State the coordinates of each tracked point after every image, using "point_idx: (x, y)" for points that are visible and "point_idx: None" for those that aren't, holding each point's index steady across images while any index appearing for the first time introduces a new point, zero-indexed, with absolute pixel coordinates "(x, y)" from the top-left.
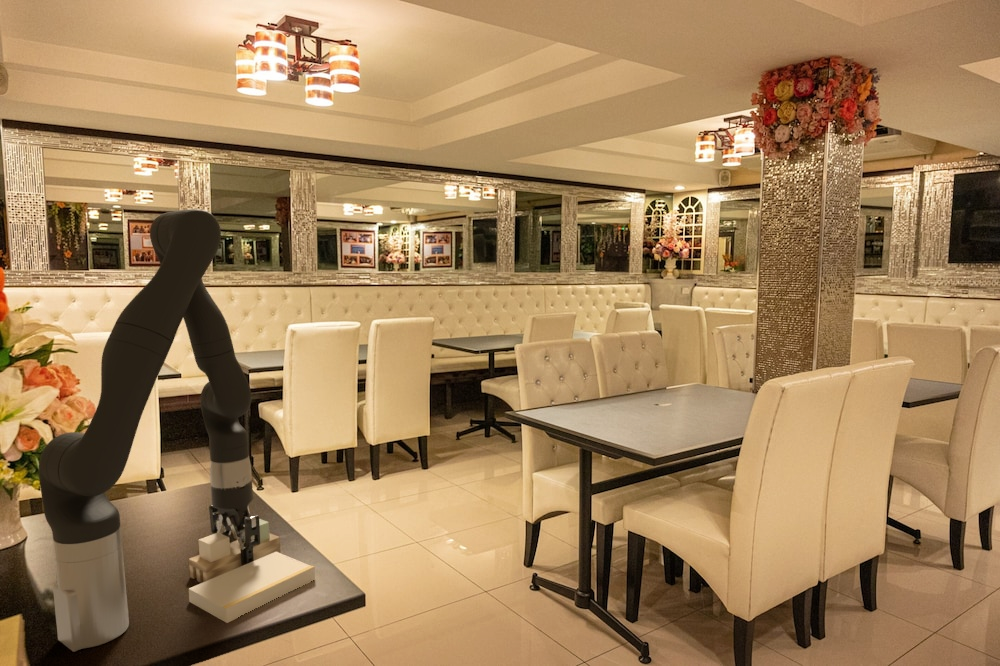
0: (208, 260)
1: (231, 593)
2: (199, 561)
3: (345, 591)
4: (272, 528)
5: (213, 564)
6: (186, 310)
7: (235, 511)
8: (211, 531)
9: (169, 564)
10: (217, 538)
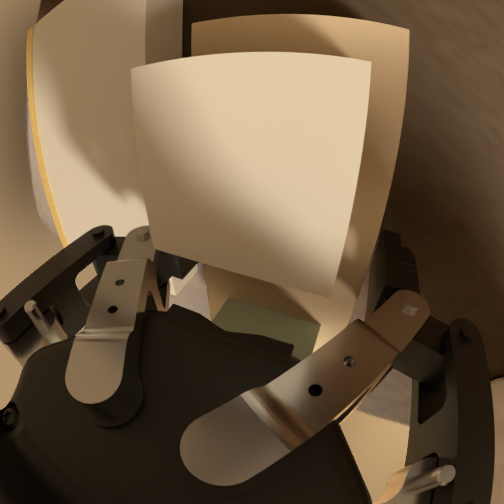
0: None
1: (51, 55)
2: (296, 30)
3: (47, 222)
4: (387, 407)
5: None
6: None
7: (27, 416)
8: (475, 330)
9: None
10: (197, 190)
